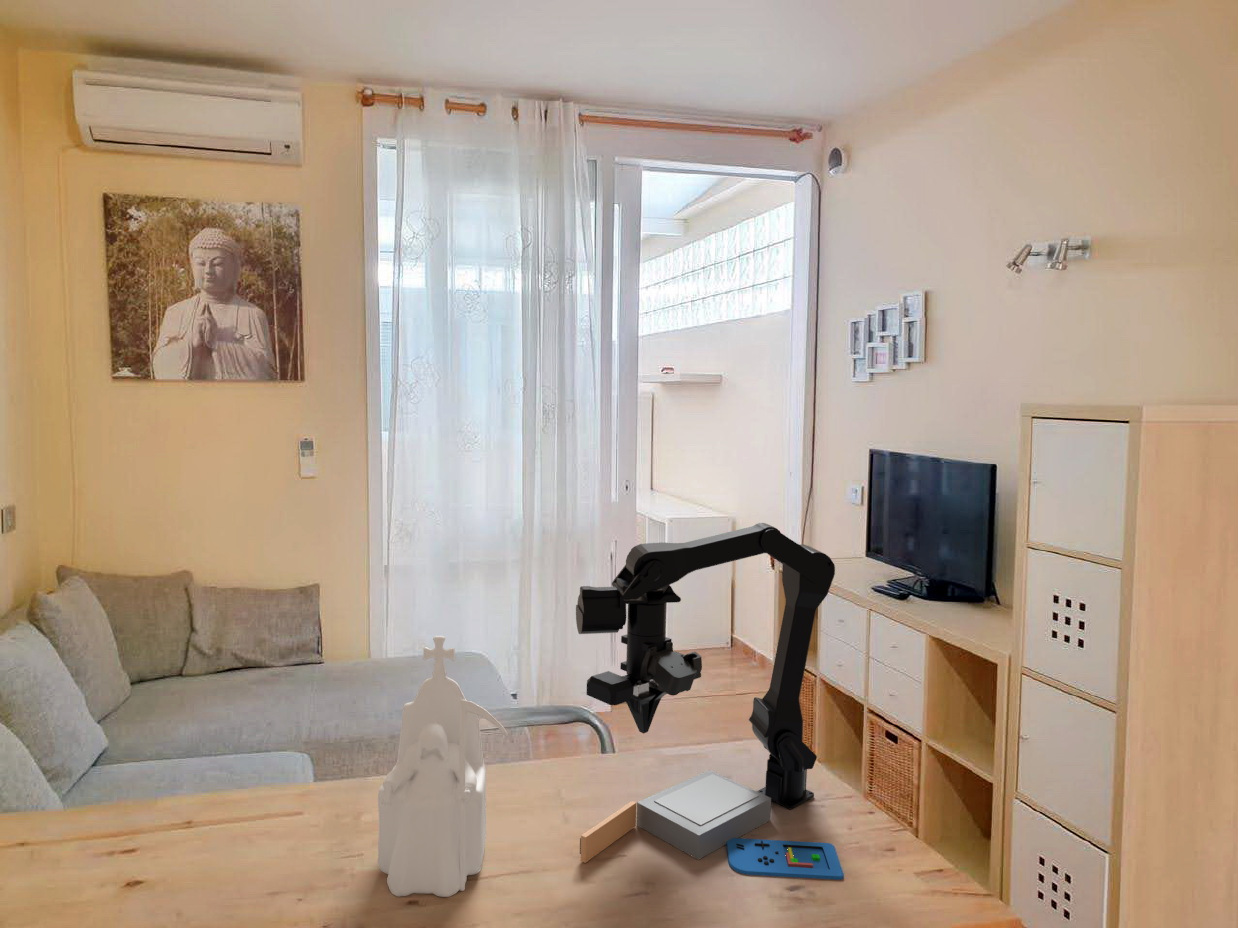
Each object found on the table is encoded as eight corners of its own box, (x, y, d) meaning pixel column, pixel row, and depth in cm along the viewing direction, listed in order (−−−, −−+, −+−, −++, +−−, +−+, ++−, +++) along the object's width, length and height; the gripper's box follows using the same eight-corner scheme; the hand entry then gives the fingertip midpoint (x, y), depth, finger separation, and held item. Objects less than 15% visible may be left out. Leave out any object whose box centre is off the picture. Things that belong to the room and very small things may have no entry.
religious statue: (367, 900, 109) (363, 668, 105) (394, 839, 123) (391, 631, 119) (506, 902, 110) (507, 670, 106) (517, 841, 123) (519, 634, 119)
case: (708, 790, 139) (709, 768, 139) (770, 820, 131) (771, 796, 130) (636, 824, 128) (637, 801, 128) (698, 859, 120) (699, 834, 119)
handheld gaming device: (726, 835, 125) (833, 840, 124) (726, 842, 125) (833, 848, 124) (730, 867, 117) (844, 874, 116) (729, 875, 117) (844, 882, 116)
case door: (635, 825, 128) (636, 802, 127) (585, 862, 118) (585, 837, 117) (629, 823, 128) (629, 799, 128) (578, 859, 119) (578, 834, 118)
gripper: (639, 657, 118) (636, 769, 120) (729, 631, 131) (725, 732, 132) (585, 637, 126) (582, 742, 128) (674, 615, 139) (671, 710, 140)
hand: (643, 732), depth 132 cm, fingers closed
